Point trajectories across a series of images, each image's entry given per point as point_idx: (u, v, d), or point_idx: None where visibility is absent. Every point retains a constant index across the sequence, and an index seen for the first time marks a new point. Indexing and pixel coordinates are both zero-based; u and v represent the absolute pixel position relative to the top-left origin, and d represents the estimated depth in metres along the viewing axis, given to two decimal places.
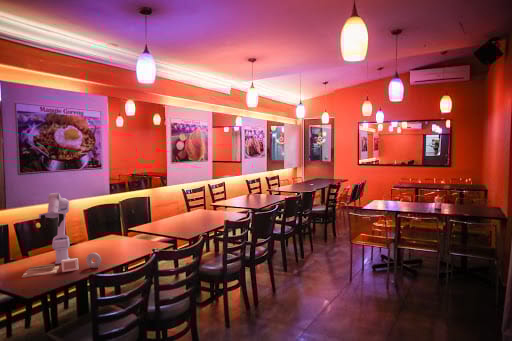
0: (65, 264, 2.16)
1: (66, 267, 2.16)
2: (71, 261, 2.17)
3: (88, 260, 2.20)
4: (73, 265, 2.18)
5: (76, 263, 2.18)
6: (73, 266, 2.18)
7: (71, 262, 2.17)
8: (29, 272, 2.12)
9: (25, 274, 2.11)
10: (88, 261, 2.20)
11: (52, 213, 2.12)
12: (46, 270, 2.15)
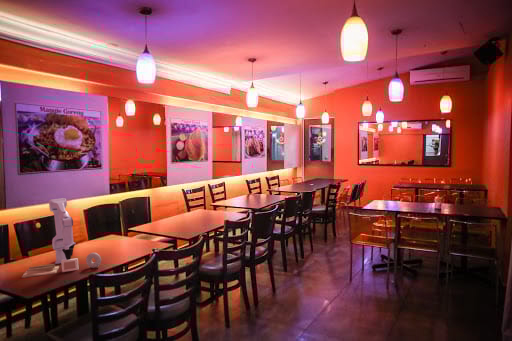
0: (65, 264, 2.16)
1: (66, 267, 2.16)
2: (71, 261, 2.17)
3: (88, 260, 2.20)
4: (73, 265, 2.18)
5: (76, 263, 2.18)
6: (73, 266, 2.18)
7: (71, 262, 2.17)
8: (29, 272, 2.12)
9: (25, 274, 2.11)
10: (88, 261, 2.20)
11: None
12: (46, 270, 2.15)
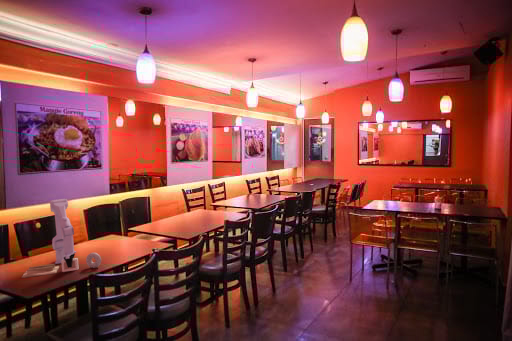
0: (65, 264, 2.16)
1: (66, 267, 2.16)
2: None
3: (88, 260, 2.20)
4: (73, 265, 2.18)
5: (76, 263, 2.18)
6: (73, 265, 2.18)
7: None
8: (29, 272, 2.12)
9: (25, 274, 2.11)
10: (88, 261, 2.20)
11: None
12: (46, 270, 2.15)
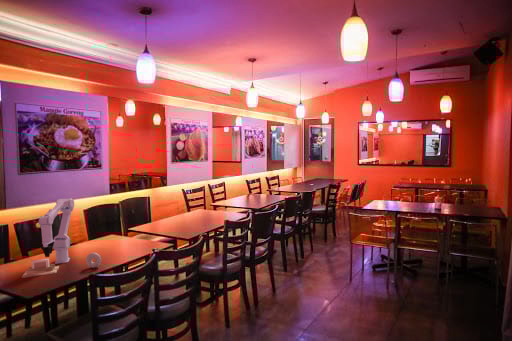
0: (36, 264, 2.14)
1: None
2: (42, 261, 2.15)
3: (88, 260, 2.20)
4: (43, 266, 2.16)
5: (47, 263, 2.16)
6: (44, 266, 2.16)
7: (41, 263, 2.15)
8: (29, 272, 2.12)
9: (25, 274, 2.11)
10: (88, 261, 2.20)
11: None
12: (46, 270, 2.15)
